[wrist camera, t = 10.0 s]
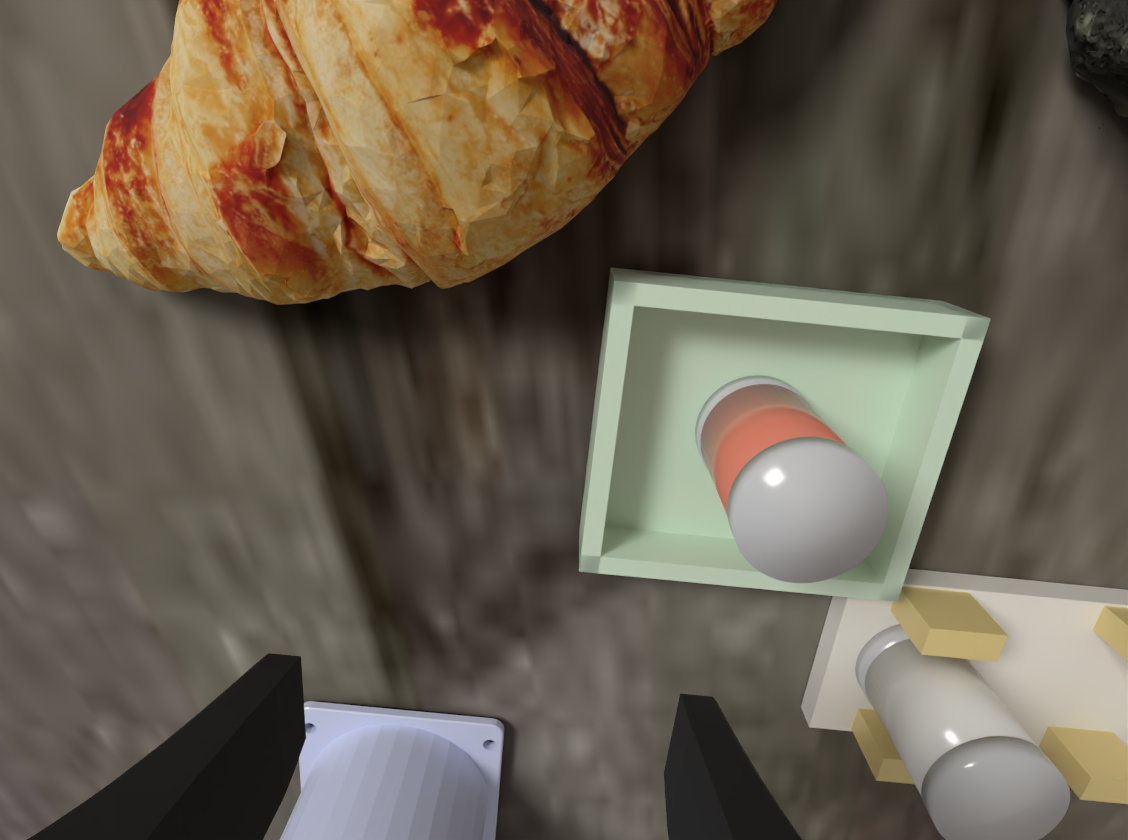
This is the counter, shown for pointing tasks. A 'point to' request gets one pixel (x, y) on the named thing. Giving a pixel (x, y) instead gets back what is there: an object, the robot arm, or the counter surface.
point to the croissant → (380, 137)
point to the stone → (1101, 47)
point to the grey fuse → (960, 744)
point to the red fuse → (788, 482)
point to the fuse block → (996, 667)
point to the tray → (781, 350)
